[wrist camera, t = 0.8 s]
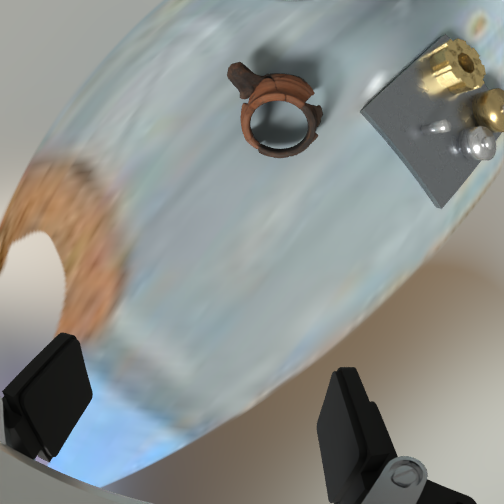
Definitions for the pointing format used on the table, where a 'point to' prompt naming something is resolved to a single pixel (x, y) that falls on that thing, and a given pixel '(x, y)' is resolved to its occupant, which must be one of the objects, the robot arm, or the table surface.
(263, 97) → the brown clawed ring bracket
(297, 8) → the table surface
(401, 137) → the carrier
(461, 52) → the planet gear
